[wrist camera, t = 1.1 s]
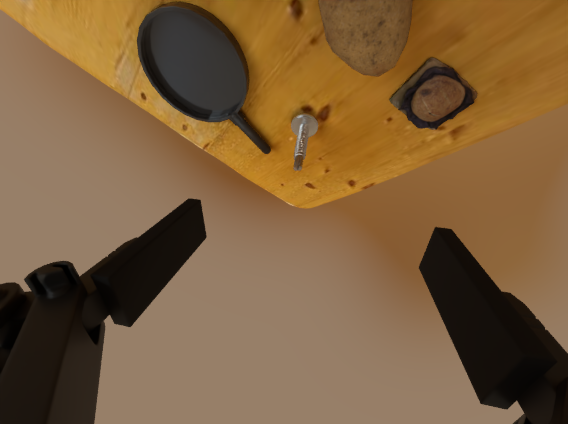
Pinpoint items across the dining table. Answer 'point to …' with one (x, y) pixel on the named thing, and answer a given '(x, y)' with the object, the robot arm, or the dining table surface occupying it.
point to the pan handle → (249, 131)
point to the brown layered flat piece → (433, 95)
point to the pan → (193, 61)
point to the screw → (302, 136)
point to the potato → (367, 32)
